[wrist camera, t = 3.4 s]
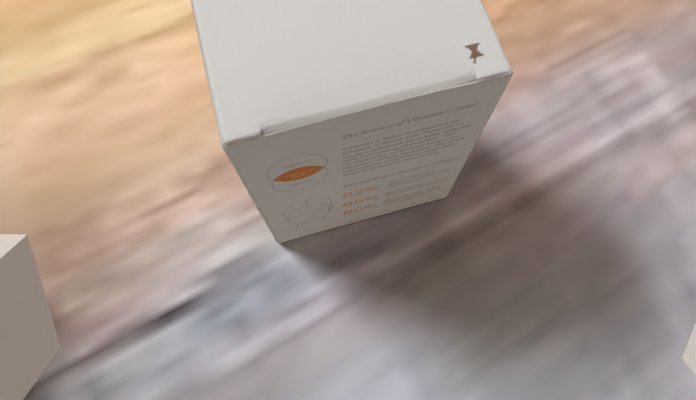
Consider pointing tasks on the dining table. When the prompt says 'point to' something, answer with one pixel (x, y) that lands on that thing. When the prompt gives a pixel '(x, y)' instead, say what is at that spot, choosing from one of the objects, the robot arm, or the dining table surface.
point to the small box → (348, 101)
